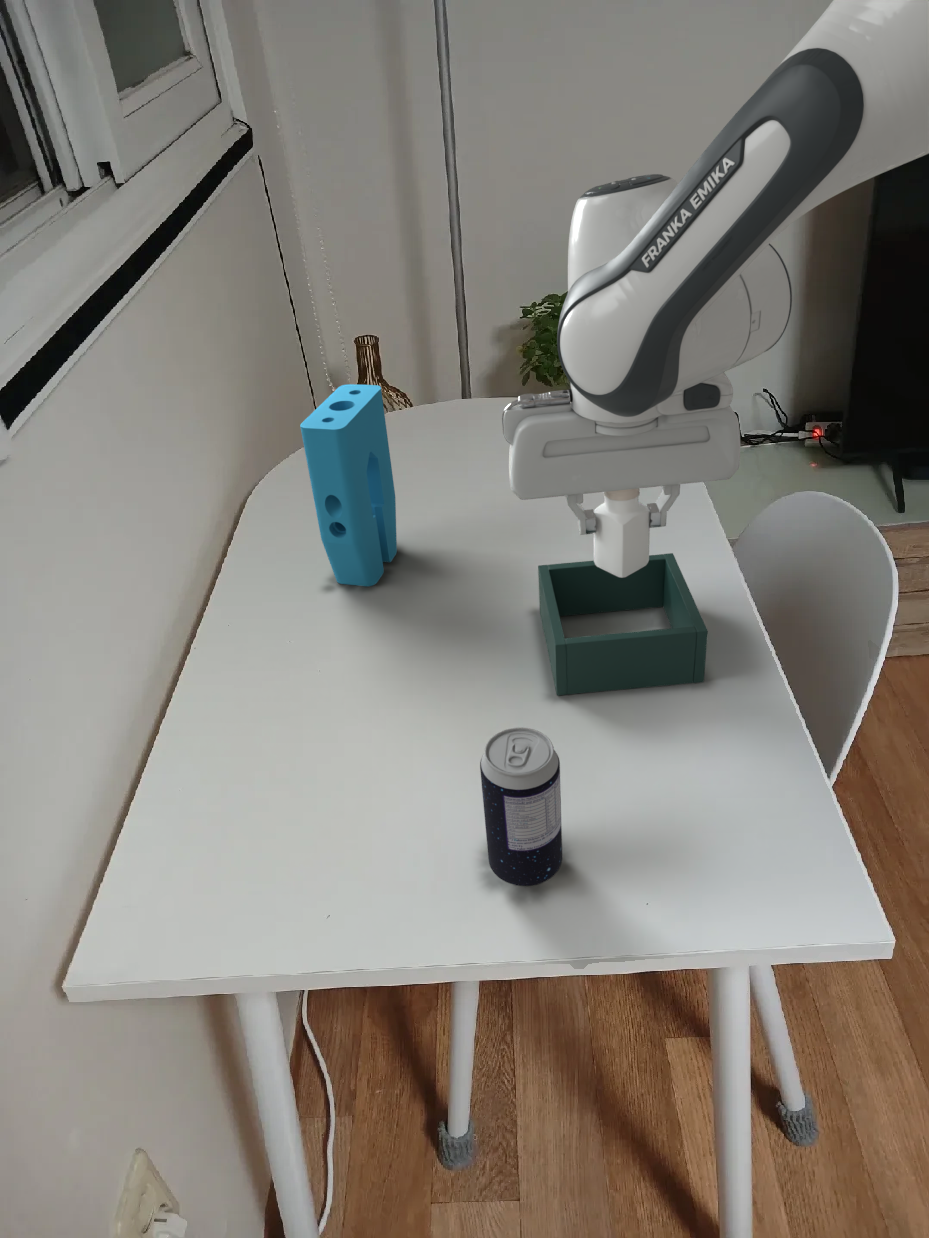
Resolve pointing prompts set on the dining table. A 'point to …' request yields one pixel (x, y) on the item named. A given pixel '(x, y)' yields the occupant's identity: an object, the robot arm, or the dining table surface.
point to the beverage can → (522, 806)
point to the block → (352, 482)
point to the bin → (621, 654)
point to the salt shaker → (622, 533)
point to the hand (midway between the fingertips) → (622, 528)
